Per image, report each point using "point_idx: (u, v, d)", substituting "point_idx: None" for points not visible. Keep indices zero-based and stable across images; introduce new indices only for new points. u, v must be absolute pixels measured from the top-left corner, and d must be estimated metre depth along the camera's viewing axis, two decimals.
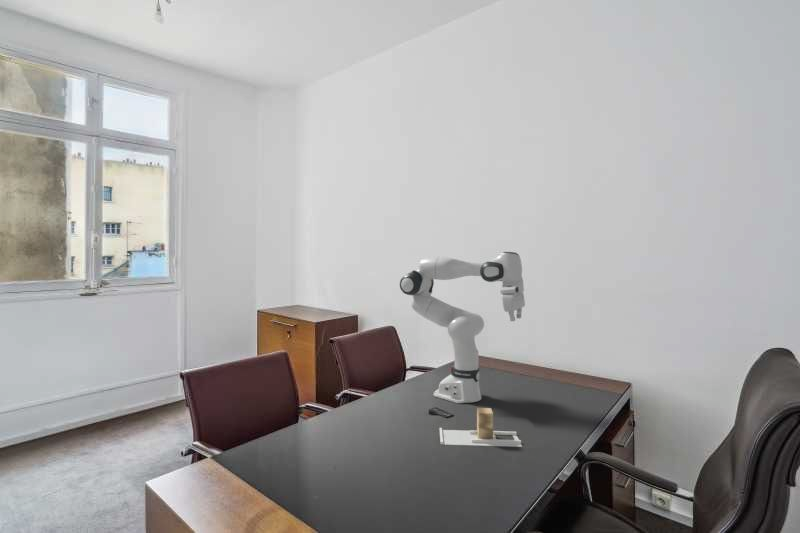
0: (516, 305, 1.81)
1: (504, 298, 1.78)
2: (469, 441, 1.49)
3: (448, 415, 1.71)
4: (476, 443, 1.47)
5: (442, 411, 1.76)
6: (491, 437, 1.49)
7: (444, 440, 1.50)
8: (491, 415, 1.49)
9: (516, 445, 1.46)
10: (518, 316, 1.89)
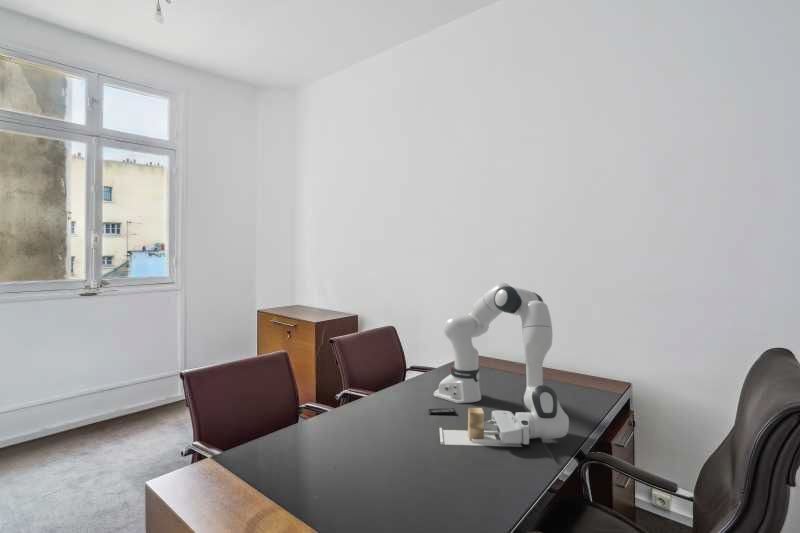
0: None
1: (518, 433, 1.42)
2: (469, 441, 1.49)
3: (453, 410, 1.77)
4: (476, 443, 1.47)
5: (441, 409, 1.78)
6: (482, 437, 1.49)
7: (444, 440, 1.50)
8: (482, 415, 1.49)
9: (516, 445, 1.46)
10: None
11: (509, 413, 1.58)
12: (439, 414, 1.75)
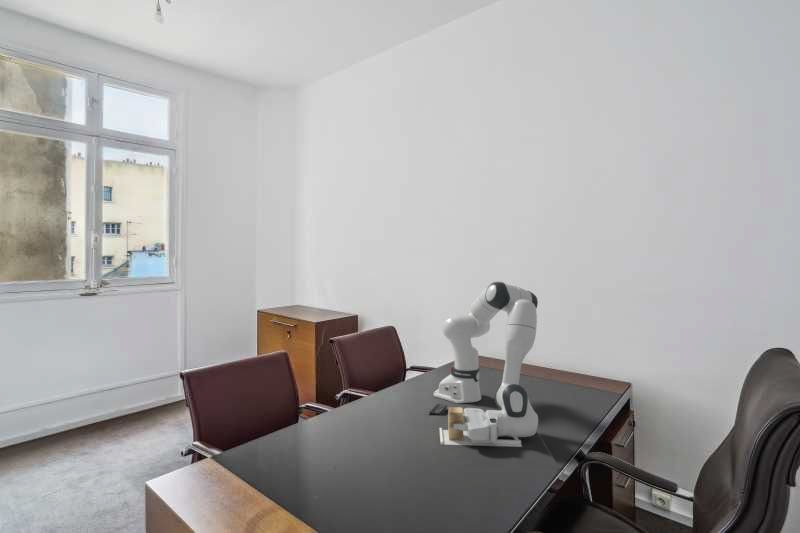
0: None
1: (485, 430, 1.42)
2: (469, 441, 1.49)
3: (442, 405, 1.83)
4: (476, 443, 1.47)
5: (436, 408, 1.79)
6: (461, 436, 1.50)
7: (444, 440, 1.50)
8: (461, 414, 1.50)
9: (516, 445, 1.46)
10: None
11: (480, 411, 1.58)
12: (442, 412, 1.77)
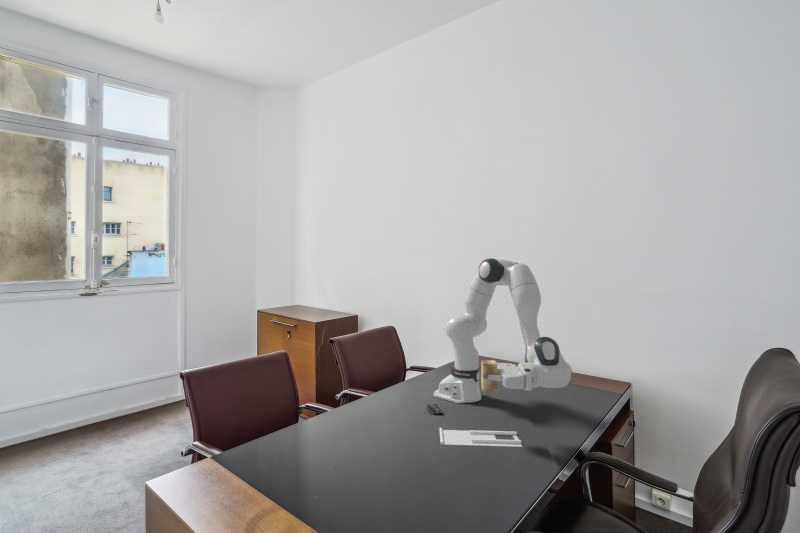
0: None
1: (520, 379, 1.43)
2: (469, 441, 1.49)
3: (433, 404, 1.84)
4: (476, 443, 1.47)
5: (433, 409, 1.79)
6: (495, 387, 1.51)
7: (444, 440, 1.50)
8: (495, 365, 1.51)
9: (516, 445, 1.46)
10: None
11: (512, 365, 1.59)
12: None
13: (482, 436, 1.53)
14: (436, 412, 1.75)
